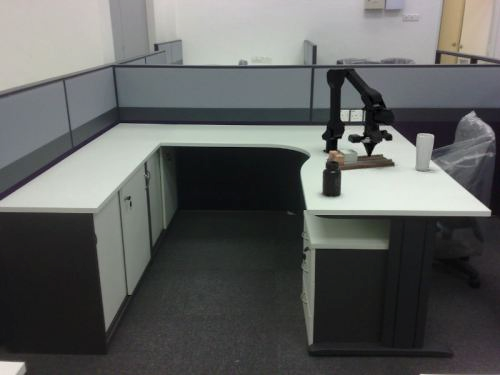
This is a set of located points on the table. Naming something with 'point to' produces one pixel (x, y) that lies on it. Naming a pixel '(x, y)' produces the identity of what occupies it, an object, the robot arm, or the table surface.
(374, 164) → the track
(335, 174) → the supplement bottle
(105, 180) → the table surface
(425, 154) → the drinking glass
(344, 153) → the block
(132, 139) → the table surface
